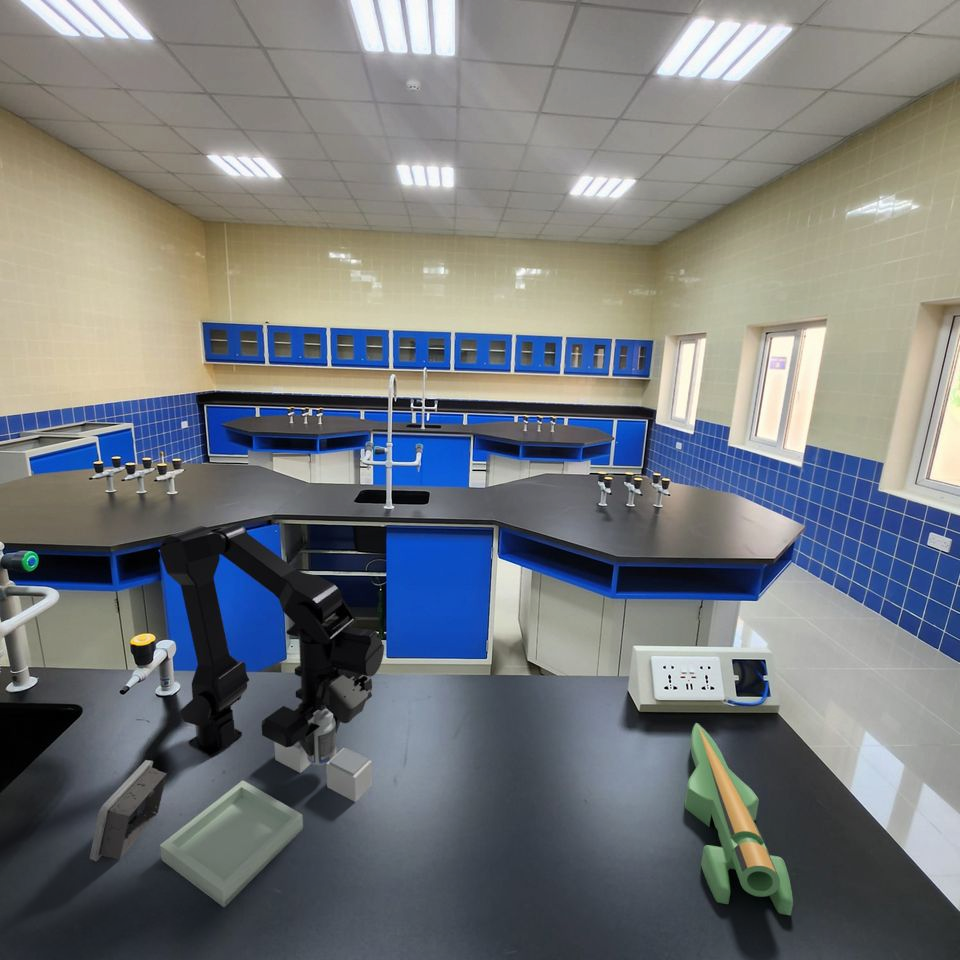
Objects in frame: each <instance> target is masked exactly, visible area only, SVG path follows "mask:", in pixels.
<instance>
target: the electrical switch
mask: <svg viewBox="0 0 960 960" xmlns="http://www.w3.org/2000/svg"><path fill="white" fill-rule="evenodd" d="M153 764H154V761H153V760H147V759H145V760H144V761H143V763H141V764H140V765H139V767H137V769H135V771H134V772H132V774H131V775H130V776H129V777H128V778H127V779H126V780H125V781H124V782H123V783H122V785H120V786H119V788H118V789H117V790H116V791H114V793H113V794H111V796H110V797H109V798H108V799H107V800H106V801H105V802H104V803H103V805H101V807H100V809H99V811H98V813H97V819H96V824H95V827H94V828H95V829H94V834H93V839H92V843H91V844H92V845H91V850H90V855H89V859H90V860H92V861H94V862H98V861H99V860H100V859H101V858H102V856H103V857H105V858H112V859H115V860H118V861H120V860H121V859H122V858H123V857H124V856H125V854H126V853H127V852H128V851H129V849H130V848H131V847H132V846H133V844H134V843H135V842H136V841H137V839H138V838H139V837H140V836H141V834H142V833H144V831H145V830H146V829H147V827H148V826H149V825H150V823H151V822H152V821H153V819H154V818H155V817H156V816H157V814H158V813H159V809H160V805H161V801H162V797H163V796H162V795H163V792H164V788H165V783H166V778H167V775H168V774H167V772H163V771H160V770H158V769H157V768H154V767H153ZM127 830H129V831H131V832H130V833H129V834H128V833H127Z"/></svg>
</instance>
